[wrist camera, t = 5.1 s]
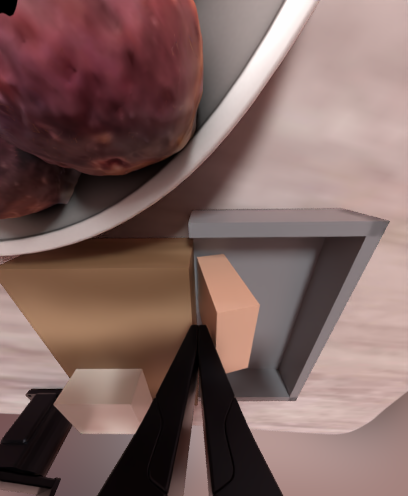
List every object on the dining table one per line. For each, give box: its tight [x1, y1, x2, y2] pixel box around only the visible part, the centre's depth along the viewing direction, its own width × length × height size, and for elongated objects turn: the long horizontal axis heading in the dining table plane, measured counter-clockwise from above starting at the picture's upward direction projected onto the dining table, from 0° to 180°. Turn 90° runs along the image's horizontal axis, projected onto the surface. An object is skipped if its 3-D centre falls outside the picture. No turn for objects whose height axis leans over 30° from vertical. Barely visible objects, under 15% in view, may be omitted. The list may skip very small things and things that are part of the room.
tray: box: [188, 208, 390, 401], centre depth 13 cm, size 19×10×3 cm, turn 1°
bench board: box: [0, 238, 199, 405], centre depth 13 cm, size 15×10×4 cm, turn 1°
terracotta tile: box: [197, 254, 260, 373], centre depth 10 cm, size 5×5×2 cm
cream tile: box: [53, 369, 152, 434], centre depth 12 cm, size 5×5×2 cm
